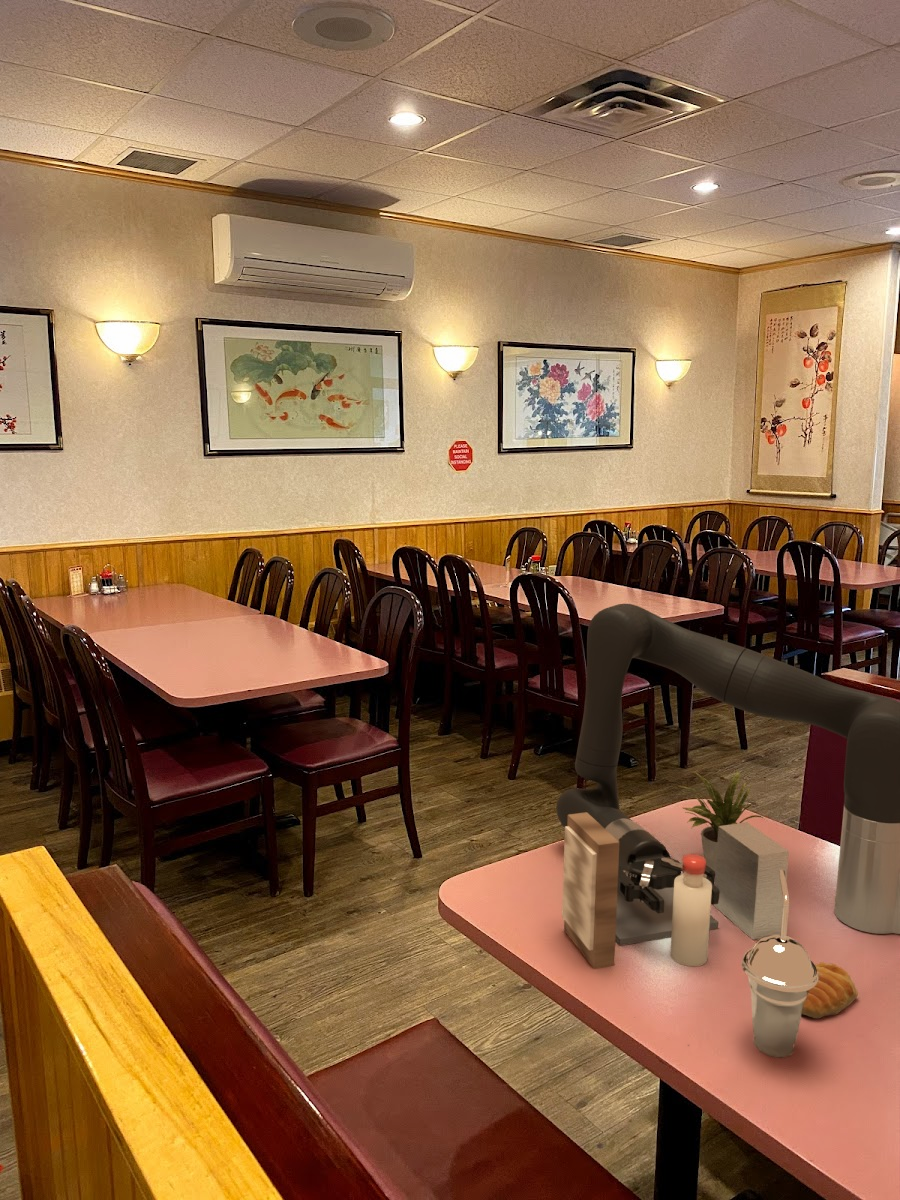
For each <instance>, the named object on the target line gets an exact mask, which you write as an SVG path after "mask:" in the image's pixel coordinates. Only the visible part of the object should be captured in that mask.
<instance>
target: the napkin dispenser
mask: <svg viewBox="0 0 900 1200" xmlns="http://www.w3.org/2000/svg"><path fill="white" fill-rule="evenodd" d="M789 853H790V851H789V849H787V848H786V847H784V846H782V845H781V844H779V843H778V842H777V841H775V840H773V839H772V838H771V837H770V836H768V835H766V834H765V833H763V832H762V831H760V830H759V829H758V828H756V827H755V826H754V825H752V824H750V823H748V822H747V821H746V822H742V823H740V822H739V823H738V822H737V824H731V825H724V826H718V842H717V857H716V873H715V882H714V884H715V886H716V887H717V888H718V889H719V891H720V893H719V900H718V904H715V905H713V906H714V907H715V908H716V909H717V910H718V911H720V913H722V914H723V915H724V916H725V917H726V918H728V919H729V921H730V922H732V923H733V924H734V925H735V926H736V927H738V928H739V929H740V931H742V932H743V933H745V935H747V936H748V937H749V938H750V939H751V940H759V939H760V938H762V937H764V936H767V935H771V934H780V931H781V919H782V907H783V895H782V889H781V883H780V877H779V871H780V870H784V871H785V876H786V882H787V880H788V879H787V878H788V868H789Z"/></svg>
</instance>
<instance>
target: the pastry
mask: <svg viewBox="0 0 900 1200" xmlns="http://www.w3.org/2000/svg"><path fill="white" fill-rule="evenodd" d="M814 965H815V966H816V968H817V972H818V973H817V974H818V982H817V984H816V985H815V986H814V987H813V988H812V989H810V990H809V993H808V995H807V998H806V1000H805V1002H804V1006H803V1011H802V1015H804V1016H807V1017H808V1018H809V1017H810V1018H813V1019H821V1018H822V1017H826V1016H831V1015H838V1014H839V1013H840V1012H841V1011H843V1010H845V1008H848V1007H849V1006H850V1005H851V1004H852V1003H853V1002H854V1001H856V999H857V997H858V996H859V992H858V989H857V988H856V985H855V983H854V981H853V980H852V977H851V975H850V974H849V972H848V971H847V970H845V969H844V968H842V967H841V966H839V965H837V964H835V963H830V962H829V963H826V962H823V961H822V962H819V963H817V964H814Z"/></svg>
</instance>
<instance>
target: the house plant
mask: <svg viewBox="0 0 900 1200" xmlns="http://www.w3.org/2000/svg"><path fill="white" fill-rule="evenodd" d="M693 773H694V774H696V775H697V776H698V777H699V778H700V779H701V780H702V781H703V783H704V784H705V785H704V786H705V787H706V789H707V792H708V794H709V797H710V798H711V800H710V799H708V798H707V797H706V796H705V795H704V794H703V793H702V792H700V791H699V790H697V789H695V788H693V787H688V786H682V785H679V786H678V787H680V788H685V789H687V790H688V789H689V790H691V793H693V794H694V792H696V793H698V794H697V796H698V797H699V798H698V797H697V796H695V795H694V797H695V799H697V801H698V802H699V803H700V805H695V806H693V807H682V809H683V810H685V811H684V813H687V814H692V815H694V817H691V818H690V819H689V820H688V821H687V822H686V823H687V824H688V823H690V822H694V823H693V824H692V826H691V828H690V829H693V828H694V827H698V826H700V825H703V824H705V825H706V826H707V827H705V828H703V829H702V830H701V832H700V837H701V845H702V846H701V847H702V854H703V856H702V857H704V858H705V860H706V865H707V866H708V867H710V868H711V869H712V870H714V871H715V873H716V857H717V842H718V826H724V825H731V824H738V822H737V821H738V820H739V818H740V816H741V815H742V814H744V813H743V812H745V811H746V809H748V808H749V807H751V806H752V804H754V803H755V802H757V801H759V800H760V798H758V799H756V800H754V801H752V802H751V803H750V804H749V805H748V804H745V805H744V803H745V802H746V799H747V798H748V796H749V792H750V790H751V787H752V786H751V785H750V786H749V787H748V788H747V790H746V789H745V787H746V785H747V783H746V782H747V780H745V781H744V783H743V785H742V786H741V788H740V791H739V792H738V795H737V797H736V799H735V802H734V800H733V799H734V796H735V792H736V788H737V785H738V783H739V781H741V780H742V778H741V777H740V778H739V776H740V774H741V771H740V770H739V771H737V772H736V773H735V774H734V775H733V777H732V779H731V780H730V781H731V782H730V783H729V786H728V787H727V789H726V791H725V794H724V799H723V798H722V796H721V794H720V792H719V791H718V789H716V787H715V786H714V785H713V783H711V782H710V781H709V780H707V779H706V778H705V777H704V776H702V775H701V774H699V773H698V772H695V771H693ZM687 790H686V791H685V792H687V793H690V791H689V790H688V791H687ZM745 790H746V791H745ZM692 791H694V792H692ZM744 791H745V793H744ZM699 794H700V795H701V796H702V797H704V798H702V797H701V796H700V795H699ZM705 800H706V802H707V803H708V804H709V806H710V807H711V808H712V811H713V813H712V811H711V810H710V808H709V806H708V804H707V803H706V802H705ZM733 802H734V804H733ZM745 806H746V807H745ZM686 811H687V812H686ZM696 814H697V815H696ZM699 816H700V817H699ZM752 818H761V819H764V817H763V816H761V815H758V814H756V815H751V816H747V817H745V818H743V819H742V820H741V821H739V823H744V821H746V820H748V819H752ZM707 824H709V825H710V826H709V825H707Z"/></svg>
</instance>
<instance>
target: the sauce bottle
mask: <svg viewBox="0 0 900 1200" xmlns="http://www.w3.org/2000/svg"><path fill="white" fill-rule="evenodd" d="M682 862H683V870H684V873H683V874H681V875H680V876H677V877H676V878H675V880H674V895H673V914H672V932H671V937H670V951H669V953H670V955H669V956H670V957H671V958H672V960H673V961H674V962H675V963H677V964H680V965H683V966H686V967H693V968H695V967H700V966H703V965H705V964H706V963H707V962H708V955H709V942H710V941H709V940H710V939H709V938H710V930H709V925H710V915H711V907H712V904H711V894H712V884H711V882H710V881H709V880H708V879H706V878H704V877H703V874H704V873H705V866H706V860H705V858H704V857H703V856H702V855H699V854H693V853H690V854H686V855H683V857H682Z"/></svg>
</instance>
